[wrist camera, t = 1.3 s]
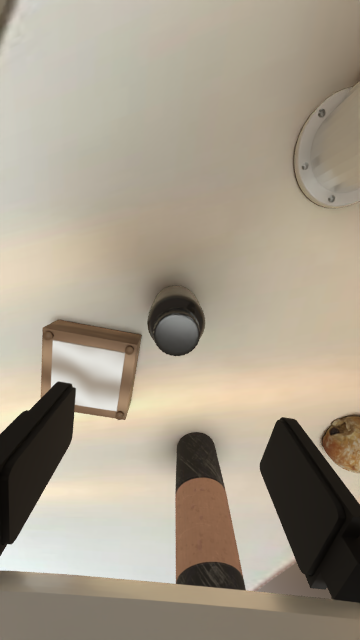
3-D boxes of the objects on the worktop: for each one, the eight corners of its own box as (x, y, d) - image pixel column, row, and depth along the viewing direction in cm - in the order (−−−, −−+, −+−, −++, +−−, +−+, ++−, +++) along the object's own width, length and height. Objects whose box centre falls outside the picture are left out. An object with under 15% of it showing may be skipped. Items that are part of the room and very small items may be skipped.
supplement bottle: (148, 320, 33) (133, 353, 22) (161, 278, 31) (153, 290, 20) (189, 333, 34) (196, 372, 22) (204, 293, 32) (220, 313, 21)
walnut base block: (58, 319, 33) (40, 328, 29) (141, 335, 34) (136, 346, 29) (54, 391, 36) (38, 408, 32) (130, 403, 37) (124, 422, 33)
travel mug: (169, 438, 40) (163, 607, 20) (208, 426, 39) (240, 589, 20) (183, 467, 42) (189, 646, 22) (220, 456, 41) (259, 630, 22)
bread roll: (339, 396, 42) (356, 415, 35) (395, 432, 39) (427, 462, 32) (307, 432, 44) (316, 457, 37) (358, 468, 42) (379, 504, 34)
